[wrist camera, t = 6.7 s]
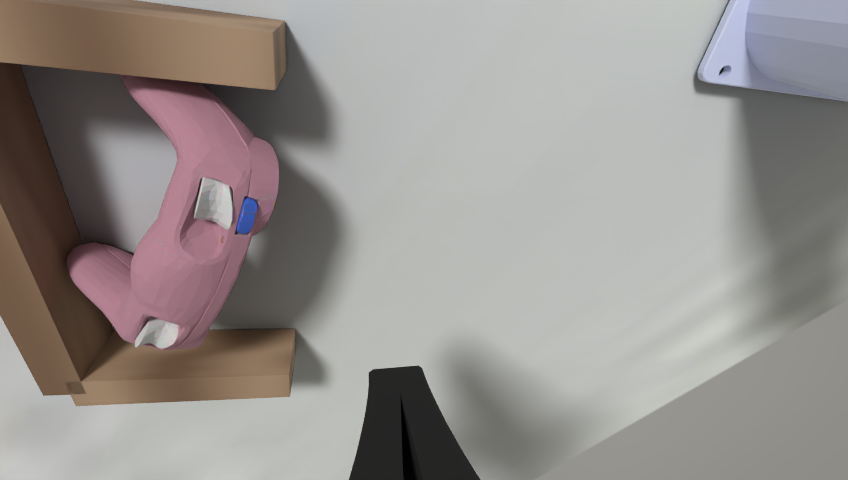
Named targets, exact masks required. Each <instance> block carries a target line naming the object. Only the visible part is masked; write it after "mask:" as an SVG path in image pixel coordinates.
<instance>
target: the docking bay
mask: <svg viewBox="0 0 848 480" xmlns="http://www.w3.org/2000/svg"><path fill="white" fill-rule="evenodd" d="M19 64H24V65H33V66H43V67H53V68H63V69H72V70H82V71H92V72H102V73H111V74H121V75H131V76H141V77H150V78H160V79H170V80H180V81H189V82H199V83H209V84H219V85H228V86H238V87H248V88H258V89H267V90H276V88H277V86H278V85H279V83H280V81H281V79H282V78H283V76H284V74H285V72H286V70H287V63H286V32H285V21H282V20H275V19H267V18H260V17H253V16H245V15H238V14H231V13H223V12H216V11H209V10H201V9H194V8H187V7H179V6H172V5H165V4H157V3H150V2H143V1H135V0H0V316H1V317H2V319H3V321H4V323H5V325H6V327H7V329H8V330H9V332H10V334H11V336H12V338H13V340H14V342H15V343H16V345H17V347H18V349H19V351H20V353H21V355H22V356H23V358H24V360H25V362H26V364H27V366H28V368H29V369H30V371H31V373H32V375H33V377H34V379H35V381H36V383H37V384H38V386H39V388H40V390H41V392H42V394H43V396H44V395H71V397H72V399H73V401H74V403H75V405H76V406H88V405H111V404H134V403H157V402H179V401H202V400H225V399H248V398H271V397H290V392H291V384H292V376H293V368H294V361H295V353H296V339H295V329H238V330H209V331H208V334H207V336H206V339H205V340H204V342H203V343H202V344H201V345H200V346H199V347H197V348H188V349H176V350H159V349H154V348H150V347H145V346H138V347H135V344H133V343H130V342H127V341H125V340H124V339H122V338H121V337H120V336H119V334H118V332H117V331H113V329H112V326H111V323H110V321H109V320H108V318H107V317H106V316H105V314H104V313H103V312H102V311H101V310H100V309H99V308H98V307H97V306H96V305H95V304H94V303H93V302H92V301H91V300H90V299H89V298H88V297H87V296H86V295H85V294H84V293H83V292H82V291H81V290H80V289H79V288H78V287H77V286H76V285H75V284H74V282H73V280H72V278H71V277H70V274H69V271H68V268H67V257H68V255H69V254H70V252H71V251H72V249H74V248H75V247H77V246H79V245H82V241H81V238H80V235H79V233H78V230H77V227H76V224H75V221H74V219H73V216H72V213H71V210H70V207H69V204H68V202H67V199H66V196H65V193H64V190H63V187H62V185H61V182H60V179H59V176H58V173H57V170H56V168H55V165H54V162H53V159H52V156H51V153H50V151H49V148H48V145H47V142H46V139H45V136H44V134H43V131H42V128H41V125H40V122H39V119H38V117H37V114H36V111H35V108H34V105H33V102H32V100H31V97H30V94H29V91H28V88H27V85H26V83H25V80H24V77H23V74H22V71H21V68H20V66H19Z"/></svg>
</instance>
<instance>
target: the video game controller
mask: <svg viewBox="0 0 848 480" xmlns="http://www.w3.org/2000/svg"><path fill="white" fill-rule="evenodd" d="M120 76H121V78H122V80H123V83H124V85H125V87H126V89H127V91H128V92H129V94H130V95H131V96H132V97H133V99H134V100H135V101H136V102H137V103H138V104H139V105H140V106H141V107H142V108H143V109H144V110H145V111H146V113H147V114H148V115H149V116H150V117H151V118H152V119H153V120H154V121H155V122H156V123H157V124H158V125H159V127H160V128H161V129H162V131H163V132H164V133H165V135H166V136H167V137H168V138H169V140H170V141H171V143H172V145H173V146H174V148H175V150H176V153H177V164H176V168H175V170H174V173H173V176H172V178H171V181H170V183H169V186H168V188H167V191H166V194H165V197H164V200H163V203H162V206H161V209H160V213H159V216H158V219H157V220H156V221H155V223H154V224H153V225H152V226H151V228H150V229H149V230H148V231H147V233H146V234H145V236H144V237H143V239H142V240H141V242H140V243H139V244H138V246H137V249H136V251H135V253H134V256H133V255H131V254H129V253H127V252H125V251H123V250H121V249H119V248H117V247H114V246H111V245H107V244H100V243H97V242H91V243H86V244H82V245H79V246H77V247H75V248H74V249H72V251H71V252H70V254H69V255H68V257H67V268H68V271H69V274H70V277H71V278H72V280H73V282H74V284H75V285H76V286H77V287H78V288H79V289H80V290H81V291H82V292H83V293H84V294H85V295H86V296H87V297H88V298H89V299H90V300H91V301H92V302H93V303H94V304H95V305H96V306H97V307H98V308H99V309H100V310H101V311H102V312H103V313H104V314H105V316H106V317H107V318H108V320H109V321H110V322H111V323H112V325H113V326H114V328H115V329H116V331H117V332H118V334H119V336H120V337H121V338H122V339H124V340H125V341H127V342H130V343H133V344H135V347H138V346H145V347H150V348H154V349H159V350H176V349H188V348H197V347H199V346H200V345H201V344H202V343H203V342H204V340H205V339H206V336H207V334H208V331H209V328H210V325H211V324H212V323H213V322H214V320H215V319H216V317H217V315H218V314H219V312H220V310H221V308H222V307H223V305H224V303H225V302H226V300H227V298H228V296H229V294H230V292H231V290H232V287H233V285H234V283H235V281H236V279H237V277H238V275H239V272H240V270H241V267H242V264H243V262H244V259H245V257H246V254H247V250H248V247H249V244H250V241H251V238H252V236H254V235H255V234H257V233H258V232H259V231H261V230H262V229H263V228H264V226H265V225H266V223H267V222H268V221H269V219H270V216H271V214H272V212H273V209H274V206H275V202H276V198H277V194H278V185H279V166H278V160H277V156H276V154H275V151H274V149H273V148H272V146H271V145H270V144H269V143H268V142H267V141H265V140H262V139H260V138H257V137H255V136H254V135H253V134H252V132H251V131H250V130H249V129H248V127H247V126H246V125H245V124H244V123H243V122H242V121H241V120H240V119H239V118H238V117H237V116H236V115H235V114H234V113H233V112H232V111H231V110H230V109H229V108H228V107H227V106H226V105H225V104H224V103H223V102H222V101H221V100H220V99H219V98H218V97H217V96H215V95H214V94H213V93H212V92H211V91H209V90H208V89H207V88H206V87H205V86H203V85H202V84H200V83H199V82H189V81H180V80H170V79H160V78H150V77H141V76H131V75H121V74H120Z"/></svg>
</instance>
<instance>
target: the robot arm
mask: <svg viewBox="0 0 848 480" xmlns="http://www.w3.org/2000/svg"><path fill="white" fill-rule="evenodd" d="M723 67H724V70H723V72H722V73H721V74H720V75H719V72H720V70H721V69H722V68H723ZM697 74H698V78H699V80H701V81H704V82H707V83H712V84H720V85H727V86H735V87H742V88H750V89H757V90H765V91H772V92H780V93H787V94H795V95H802V96H810V97H817V98H825V99H832V100H839V101H847V102H848V0H730V1H729V4H728V6H727V8H726V10H725V12H724V14H723V16H722V19H721V21H720V23H719V25H718V27H717V29H716V32H715V34H714V36H713V38H712V40H711V42H710V45H709V47H708V49H707V51H706V53H705V55H704V57H703V60H702V62H701V64H700V66H699V69H698V72H697ZM349 480H480V478H479V477H478V475H477V474H476V472H475V471H474V469H473V467H472V466H471V464H470V463H469V461H468V459H467V458H466V456H465V455H464V453H463V451H462V449H461V448H460V446H459V444H458V443H457V441H456V439H455V437H454V435H453V434H452V432H451V430H450V428H449V426H448V425H447V423H446V421H445V419H444V417H443V415H442V413H441V411H440V409H439V407H438V405H437V403H436V401H435V399H434V397H433V395H432V392H431V390H430V388H429V385H428V383H427V381H426V378H425V375H424V373H423V370H422V368H421V367H419V366H409V367H397V368H385V369H373V370H372V371H371V372H369V389H368V399H367V406H366V412H365V418H364V423H363V427H362V432H361V436H360V441H359V445H358V449H357V453H356V457H355V461H354V464H353V468H352V471H351V475H350V478H349Z"/></svg>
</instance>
